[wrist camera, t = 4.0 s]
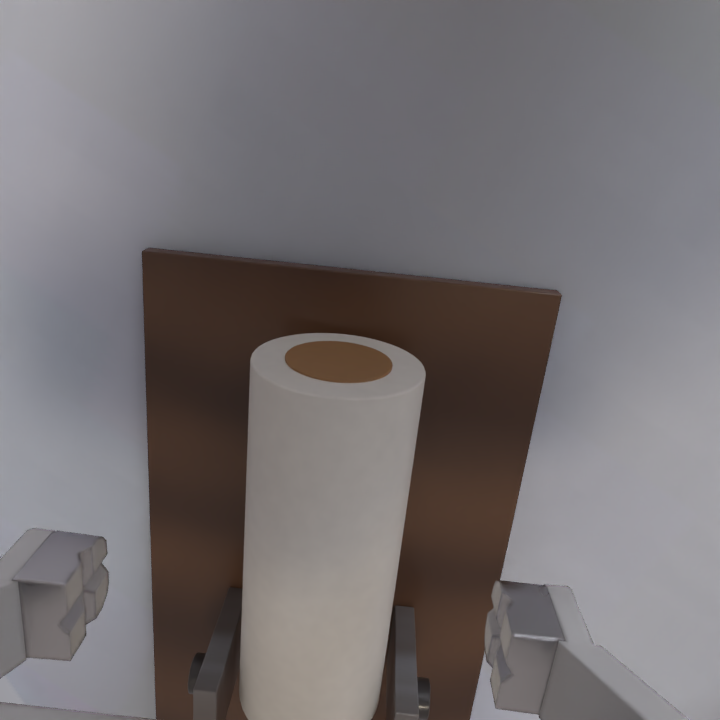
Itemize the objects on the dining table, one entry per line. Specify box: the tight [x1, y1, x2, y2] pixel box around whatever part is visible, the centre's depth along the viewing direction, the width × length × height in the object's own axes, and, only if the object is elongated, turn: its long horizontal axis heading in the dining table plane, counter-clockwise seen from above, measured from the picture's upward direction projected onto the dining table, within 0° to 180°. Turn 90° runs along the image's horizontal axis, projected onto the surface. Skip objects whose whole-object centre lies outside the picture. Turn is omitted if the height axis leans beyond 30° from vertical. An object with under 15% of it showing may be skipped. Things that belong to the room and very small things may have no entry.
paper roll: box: [239, 333, 426, 720], centre depth 21 cm, size 5×5×13 cm
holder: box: [142, 248, 562, 720], centre depth 23 cm, size 22×14×6 cm, turn 175°
